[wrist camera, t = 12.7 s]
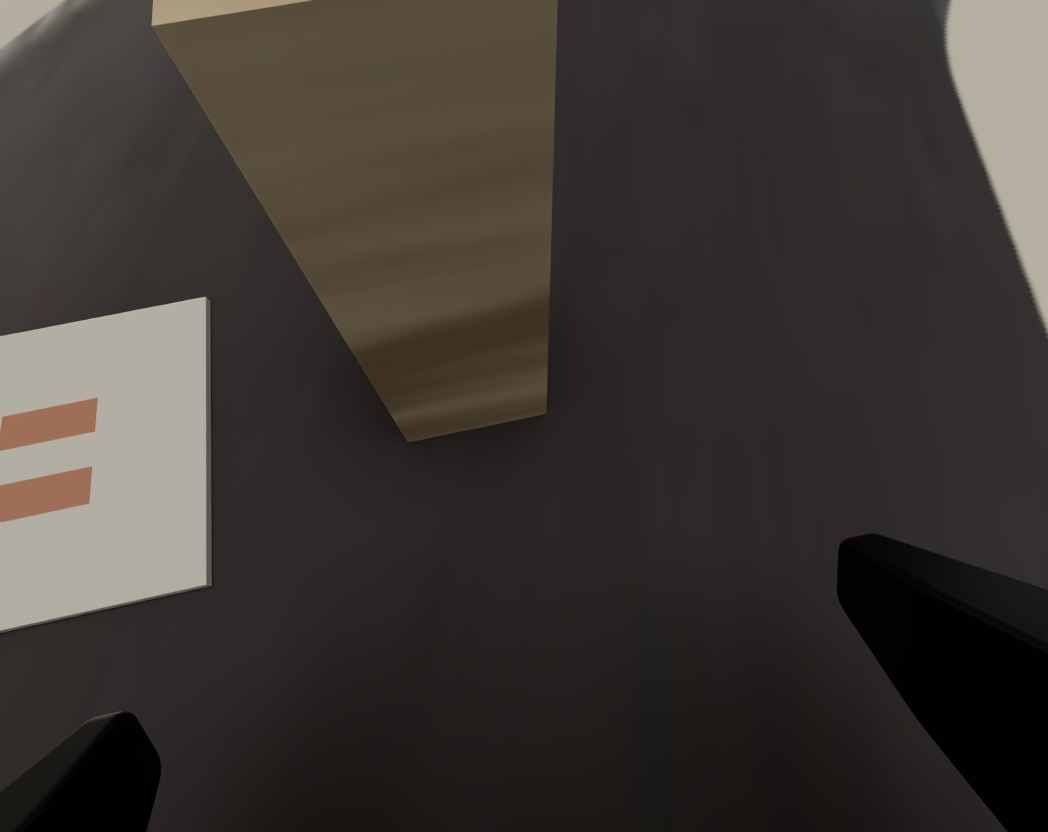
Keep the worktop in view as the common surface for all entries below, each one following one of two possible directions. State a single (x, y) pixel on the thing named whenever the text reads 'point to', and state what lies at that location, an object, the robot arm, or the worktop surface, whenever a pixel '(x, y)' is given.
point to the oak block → (399, 180)
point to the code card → (105, 463)
